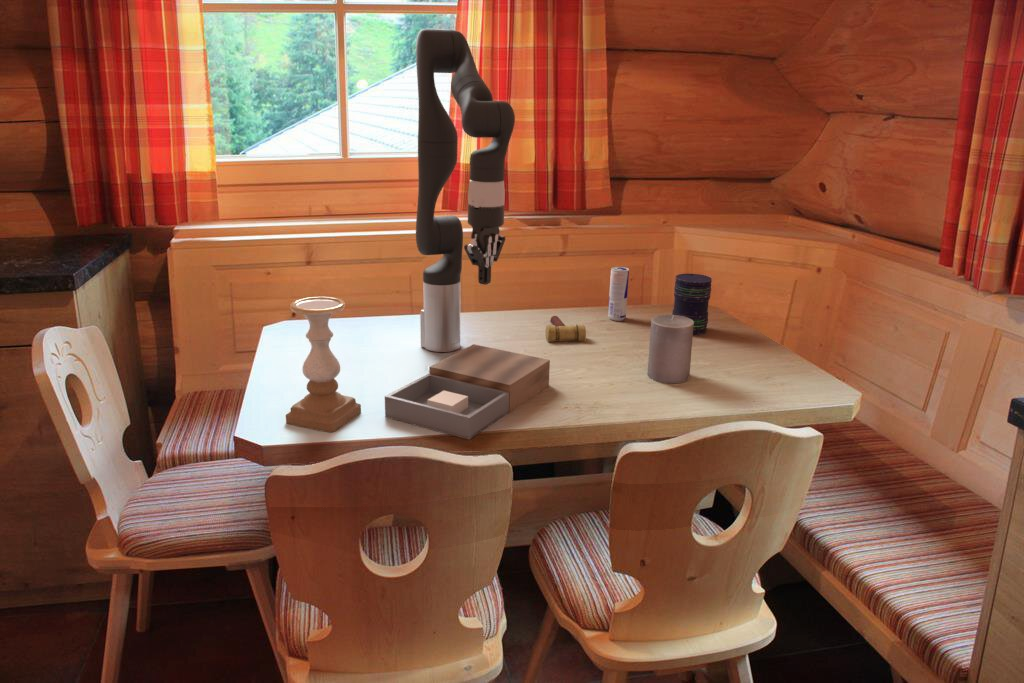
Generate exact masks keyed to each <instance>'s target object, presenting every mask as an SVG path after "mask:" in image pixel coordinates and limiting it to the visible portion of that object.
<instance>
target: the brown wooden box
mask: <svg viewBox="0 0 1024 683" xmlns="http://www.w3.org/2000/svg"><path fill="white" fill-rule="evenodd" d="M550 363H551V359H547V358H542V357H538V356H537V357H536V356H533V355H527V354H523V353H518V352H514V351H513V352H512V351H508V350H503V349H498V348H493V347H489V346H484V345H480V344H474V343H473V344H472V345H470V346H467V347H466V348H464V349H462V350H460V351H457V352H455V353H454V354H451V355H450V356H448V357H445V358H444V359H441V360H439V361H438V362H435V363H434V364H432V365H429V370H428V371H429V372H428V374H432V375H437V376H441V377H445V378H450V379H454V380H458V381H462V382H467V383H471V384H475V385H480V386H484V387H488V388H493V389H497V390H501V391H505V392H509V413H510V412H512V411H513V410H515V409H516V408H518V407H519V406H520V405H522V404H523V403H525V402H526V401H528V400H529V399H531V398H532V397H534V396H535V395H536V394H538V393H539V392H541V391H543V390H544V389H545V388H547V387H548V386H549V385H550V365H551V364H550Z"/></svg>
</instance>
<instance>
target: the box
mask: <svg viewBox="0 0 1024 683" xmlns="http://www.w3.org/2000/svg"><path fill="white" fill-rule="evenodd" d="M442 391H448V392H452V393H456V394H461V395H465V396H468V408H467V409H465V410H463V411H462V412H460V413H456V412H452V411H448V410H444V409H440V408H436V407H432V406H428V405H427V400H428V399H430V398H431V397H433V396H435V395H437V394H439V393H440V392H442ZM509 413H510V412H509V392H505V391H501V390H497V389H493V388H488V387H484V386H480V385H475V384H471V383H467V382H462V381H458V380H454V379H450V378H445V377H441V376H437V375H432V374H429V373H427V374H425V375H423V376H421V377H419V378H417V379H415V380H414V381H411V382H410V383H407V384H406V385H404V386H402V387H400V388H398V389H395V390H394V391H392V392H391V393H390V392H389V393H388V394H386V395H384V414H385V416H384V417H385V418H387V419H390V420H391V419H392V420H396V421H397V422H398V421H399V422H403V423H406V424H410V425H414V426H418V427H421V428H423V429H428V430H432V431H436V432H439V433H443V434H447V435H451V436H453V437H454V436H455V437H458V438H462V439H465V440H468V441H469V440H471V439H472V438H474V437H476V436H477V435H478V434H480V433H481V432H482V431H484V430H486V429H488V427H490V426H491V425H493V424H494V423H496V422H497V421H499V420H500V419H502V418H503V417H505V416H506V415H508V414H509Z"/></svg>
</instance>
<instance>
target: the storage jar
mask: <svg viewBox="0 0 1024 683" xmlns="http://www.w3.org/2000/svg"><path fill="white" fill-rule="evenodd" d="M712 281H713V279H712V277H710V276H708V275H704V274H699V273H679V274H677V275H675V281H674V282H675V283H674V288H673V290H674V291H673V297H674V302H673V309H672V314H671V315H678V316H684V317H687V318H690V319H691V320H693V322H694V326H693V337H694V336H695V337H696V336H697V337H698V336H702V335H705V334H706V333H707V328H708V323H709V303H710V299H711V292H712Z"/></svg>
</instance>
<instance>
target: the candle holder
mask: <svg viewBox="0 0 1024 683" xmlns="http://www.w3.org/2000/svg"><path fill="white" fill-rule="evenodd" d="M345 307H346V303H345V301H344V300H343V299H341V298H338V297H333V296H309V297H302V298H298V299H296V300H294V301H292V302H291V303H290V310H291V311H292V312H293V313H296V314H298V315H303V316H304V317H305V319H306V320H307V321H308V324H309V328H308V331H307V333H306V334H305V338H306V339H307V340H308V342H309V343H310V346H311V348H310V351H309V353H308V355H307V356H306V358H305V360H304V361H303V364H302V369H301V370H302V374H303V376H304V377H305V378H306V379H307V380H308V382H307V383H306V391H308V394H306V395H305V396H304V397H303V398H302V399H300V400H299V401H297V402H296V403H294V404H293V405H291V407H290V411H289V412H288V413H286V414H285V423H286V424H287V425H290V426H294V427H300V428H305V429H310V430H314V431H315V430H317V431H321V432H327V433H334V432H335V431H337V430H339V429H341V428H342V427H343V426H345V425H347V423H349V422H350V421H352V420H353V419H355V418H356V417H357V416H359V415H360V414H361V413H362V406H361V403H358V402H357V400H356V398H355V397H353V396H348V395H343V394H341V393H340V392H338V391H337V390H338V388H339V383H338V381H337V379H336V378H337V376H339V374H340V372H341V363H340V362H339V359H338V358H337V357H336V356H335V353H333V352H332V350H331V348H330V342H331V340H332V339H333V337H334V333H333V331H332V329H330V327H329V321H330V319H331V318H332V316H333V314H335V313H339V312H341V311H342V310H344V309H345Z"/></svg>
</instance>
